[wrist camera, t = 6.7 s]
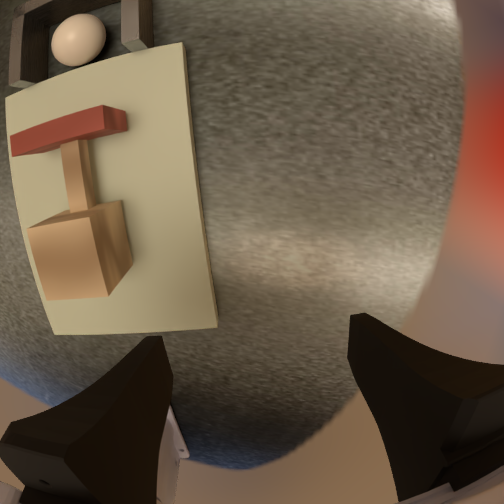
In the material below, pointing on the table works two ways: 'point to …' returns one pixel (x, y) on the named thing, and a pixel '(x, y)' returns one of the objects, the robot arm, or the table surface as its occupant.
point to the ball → (78, 39)
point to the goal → (55, 11)
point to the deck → (126, 191)
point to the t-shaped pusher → (77, 210)
